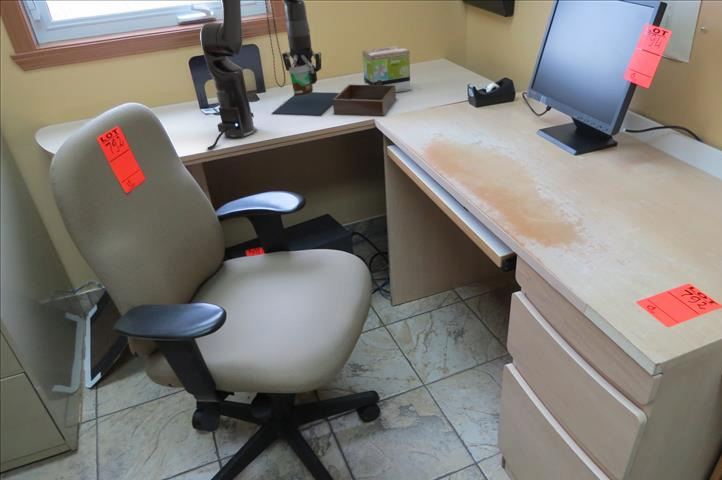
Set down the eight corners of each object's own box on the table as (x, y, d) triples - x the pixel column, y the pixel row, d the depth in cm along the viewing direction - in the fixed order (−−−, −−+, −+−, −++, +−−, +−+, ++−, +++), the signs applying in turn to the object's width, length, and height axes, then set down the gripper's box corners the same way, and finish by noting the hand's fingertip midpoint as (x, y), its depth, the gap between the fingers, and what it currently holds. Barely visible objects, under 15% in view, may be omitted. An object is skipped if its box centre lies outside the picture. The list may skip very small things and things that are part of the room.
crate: (383, 116, 187) (382, 101, 184) (334, 114, 191) (332, 99, 188) (396, 99, 201) (395, 85, 198) (349, 98, 205) (348, 84, 202)
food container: (309, 97, 194) (305, 67, 188) (293, 96, 195) (288, 67, 189) (320, 86, 204) (316, 58, 198) (304, 86, 205) (300, 58, 199)
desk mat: (320, 115, 190) (320, 114, 190) (272, 114, 194) (272, 112, 194) (342, 94, 209) (342, 93, 209) (298, 92, 213) (298, 91, 213)
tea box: (374, 97, 204) (371, 55, 196) (364, 90, 212) (361, 49, 204) (411, 90, 209) (409, 49, 201) (400, 83, 217) (398, 44, 208)
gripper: (274, 35, 187) (282, 85, 196) (314, 35, 184) (320, 86, 193) (283, 30, 193) (290, 79, 202) (322, 30, 189) (328, 80, 199)
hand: (305, 82), depth 198 cm, fingers closed on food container, 6 cm apart
